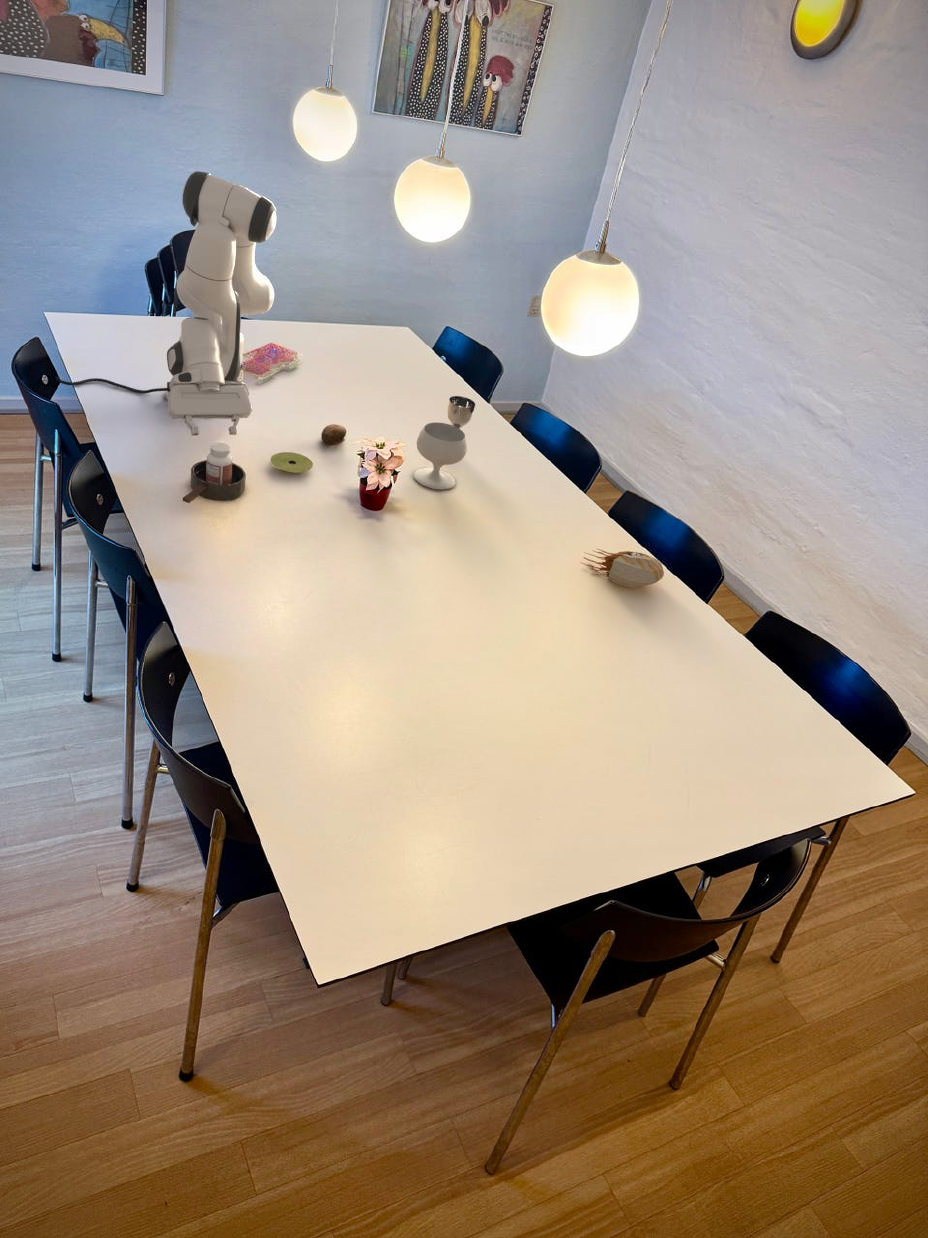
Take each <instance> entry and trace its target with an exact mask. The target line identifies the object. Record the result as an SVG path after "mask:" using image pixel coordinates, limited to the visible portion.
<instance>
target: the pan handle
mask: <svg viewBox="0 0 928 1238" xmlns="http://www.w3.org/2000/svg"><path fill="white" fill-rule="evenodd" d="M207 489H208V485H205V484H202V483H201V484H200V485H199V486H198V487H196V488H195V489H194V490H192V489H191V491H190V492H188V493H187V494H185V495H184V496H182V502H184V503H187V504H190V503H192V502H193V501H194V500H196V499H197V498H198V497H200V496H199V495H201V494H202V493H203V492H204V491H206V490H207Z"/></svg>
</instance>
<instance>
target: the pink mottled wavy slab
mask: <svg viewBox="0 0 928 1238" xmlns="http://www.w3.org/2000/svg"><path fill="white" fill-rule="evenodd" d="M243 357H245V358H247V359H248V360H245V361H243V362H244V369H243V373H244V372H245V373H247V374H250V375H252V376H254V377H255V380H256V381H258V382H257V385H261V384H262V383H264V382H265V381H268V380H271V379H272V377H273V375H275V374H277V373H279V372H280V371H281V370H285V371H288V372H289V371H291V370H294V369H295V368H296V366H297V365H299V364H300V363H302V361H301V360H300V359H302V358H303V353H301V352H298V351H295V350H292V349H290V348H288V347H284V346H282V345H279V344H276V343H274V342H269V343H267V344H265V345H262V346H259V347H257V348H255V349H252V350H250V351H248V352H246V353H243Z"/></svg>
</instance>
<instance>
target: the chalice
mask: <svg viewBox="0 0 928 1238" xmlns="http://www.w3.org/2000/svg"><path fill="white" fill-rule="evenodd" d="M467 443H468V442H467V437H466V433H465V432H464V431H463V430H462V429H461V428H460V429H459V428H457V427H455V426H453V425H452V424H451V423H450V424H449V423H447V422H446V423H445V422H436V421H435V422H429V423H427V424H425V425H424V426H423V427H422V429H421V430H420V432H419V434H418V436H417V439H416V449H417V451H418V452H419V454H420V456H422V457H423V458H424V459H425V460H427V461H429V462H430V463H431V465H432V467H422V468H419V469H416V470H415V471H414V473H413V479H414V480H415V481H416V482H417V483H419V484H420V485H422V486H424V487H426V488H430V489H433V490H449V489H452V488H454V486H455V485H456V480H455V478H454V477H453V475H452V474H450V473H449V472H447V471H445V470H442V467H444V466H448V465H454V464H457V463H459V462H461V461H462V460H463V459H464V457H465V456H466V454H467V448H468V444H467Z"/></svg>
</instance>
